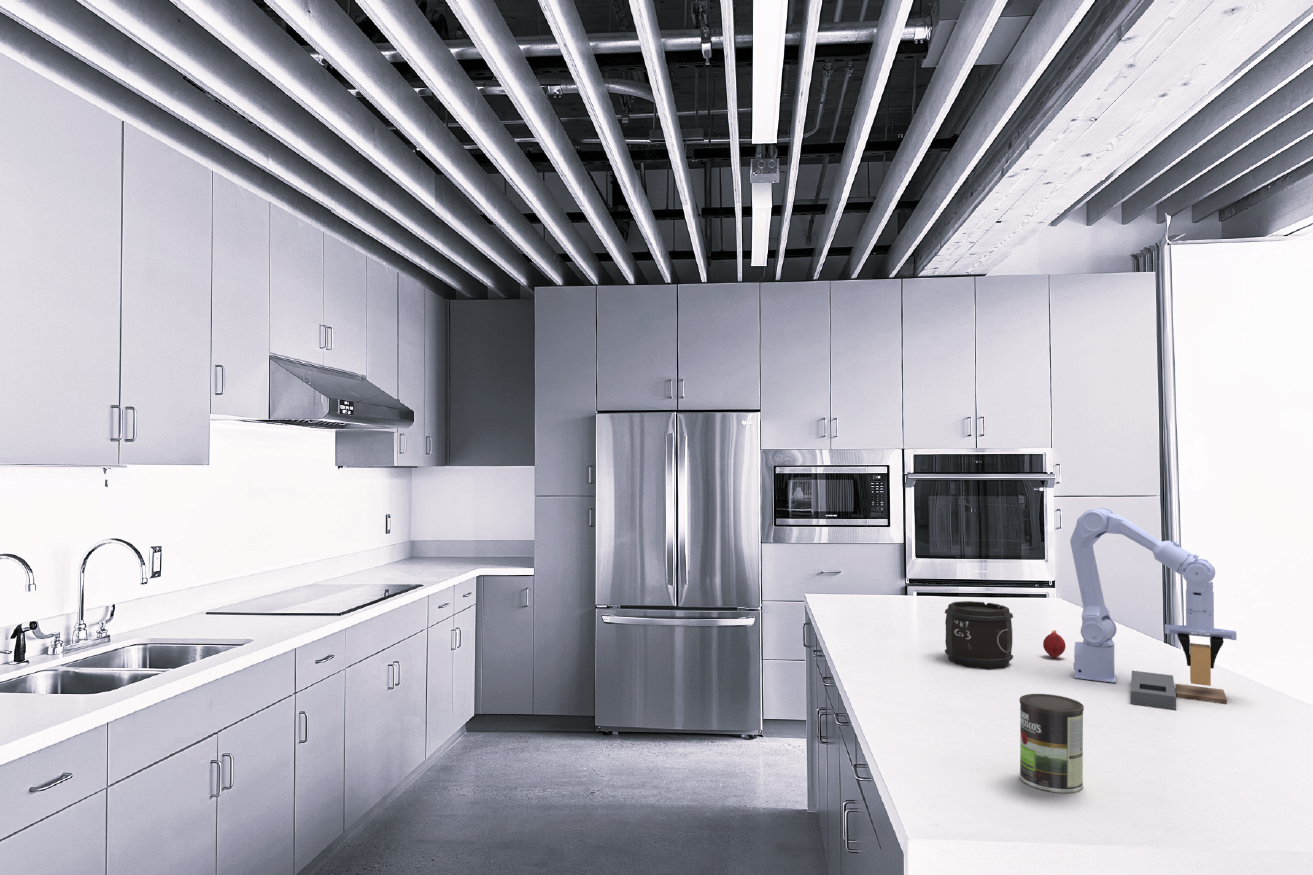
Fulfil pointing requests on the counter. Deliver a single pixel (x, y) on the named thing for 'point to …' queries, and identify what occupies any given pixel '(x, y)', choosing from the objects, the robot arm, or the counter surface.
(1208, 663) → the peg
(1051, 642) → the onion
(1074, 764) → the coffee can
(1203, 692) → the board
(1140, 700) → the grey slotted block
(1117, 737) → the counter surface
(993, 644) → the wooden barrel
